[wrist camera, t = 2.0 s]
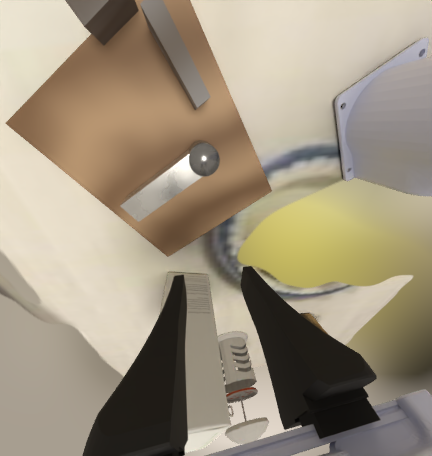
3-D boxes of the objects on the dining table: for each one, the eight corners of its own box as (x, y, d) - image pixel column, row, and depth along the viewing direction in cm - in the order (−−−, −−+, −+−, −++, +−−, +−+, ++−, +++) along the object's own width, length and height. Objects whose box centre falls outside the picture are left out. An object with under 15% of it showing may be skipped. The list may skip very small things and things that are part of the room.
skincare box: (197, 304, 29) (208, 448, 16) (159, 304, 27) (137, 466, 14) (209, 272, 25) (237, 429, 12) (165, 269, 23) (143, 451, 10)
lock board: (268, 188, 19) (283, 199, 16) (168, 251, 21) (166, 271, 19) (167, -41, 10) (160, -111, 7) (12, 119, 12) (-41, 117, 9)
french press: (229, 352, 44) (271, 559, 23) (195, 347, 38) (209, 609, 18) (255, 335, 40) (331, 556, 20) (222, 326, 35) (278, 617, 14)
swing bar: (204, 134, 14) (208, 136, 12) (218, 158, 15) (225, 165, 13) (126, 193, 16) (116, 205, 13) (145, 211, 17) (139, 225, 14)
